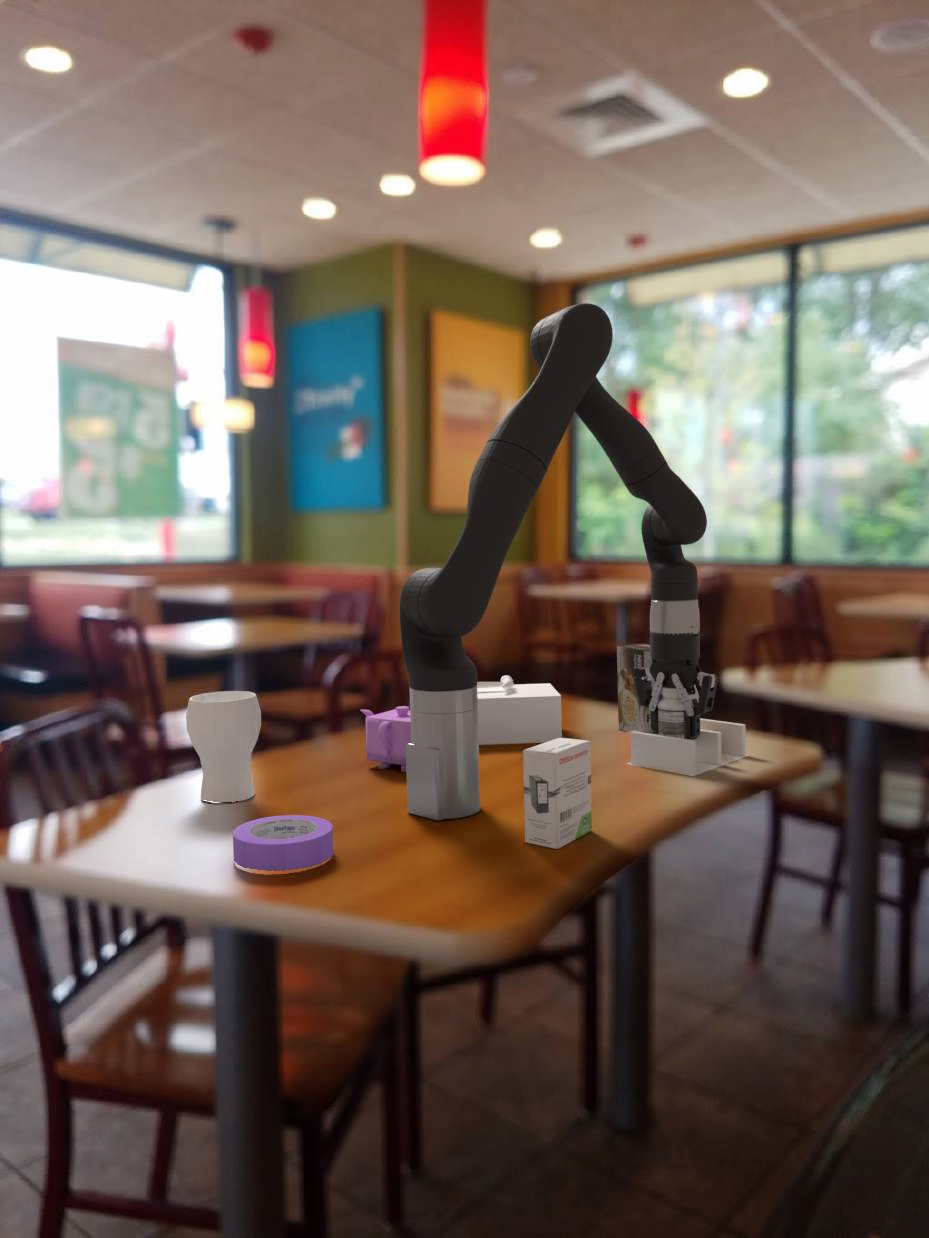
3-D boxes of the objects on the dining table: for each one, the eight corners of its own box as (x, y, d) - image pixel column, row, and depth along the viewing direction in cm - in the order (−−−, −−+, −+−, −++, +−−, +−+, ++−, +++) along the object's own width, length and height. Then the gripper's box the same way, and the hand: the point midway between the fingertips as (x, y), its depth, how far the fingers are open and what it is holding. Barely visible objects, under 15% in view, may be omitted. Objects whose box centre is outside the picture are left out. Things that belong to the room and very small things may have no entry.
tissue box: (561, 743, 173) (560, 683, 172) (422, 748, 172) (420, 687, 171) (550, 727, 187) (549, 671, 186) (422, 731, 186) (420, 675, 185)
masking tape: (305, 837, 123) (304, 808, 122) (351, 861, 113) (350, 829, 113) (218, 857, 116) (216, 826, 115) (259, 884, 106) (258, 851, 106)
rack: (693, 782, 143) (692, 742, 142) (626, 769, 151) (625, 732, 151) (749, 761, 155) (749, 724, 154) (685, 750, 163) (684, 715, 163)
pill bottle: (672, 743, 154) (672, 682, 153) (700, 748, 150) (700, 686, 149) (650, 748, 151) (650, 686, 150) (678, 754, 147) (678, 690, 146)
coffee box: (673, 734, 176) (673, 647, 175) (645, 738, 174) (644, 650, 172) (644, 725, 185) (643, 642, 183) (616, 729, 182) (615, 645, 181)
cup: (277, 788, 146) (272, 690, 144) (242, 808, 136) (237, 703, 134) (214, 785, 149) (209, 689, 147) (176, 804, 138) (170, 701, 137)
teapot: (474, 762, 159) (472, 703, 158) (427, 780, 148) (425, 717, 148) (389, 750, 169) (387, 695, 168) (339, 767, 158) (336, 708, 158)
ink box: (560, 825, 124) (558, 735, 123) (593, 831, 121) (592, 739, 120) (523, 843, 118) (521, 748, 117) (557, 850, 115) (555, 753, 114)
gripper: (621, 628, 151) (623, 734, 153) (702, 633, 141) (703, 747, 142) (649, 624, 156) (650, 727, 158) (728, 629, 146) (729, 738, 148)
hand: (675, 736), depth 150 cm, fingers closed on pill bottle, 5 cm apart
